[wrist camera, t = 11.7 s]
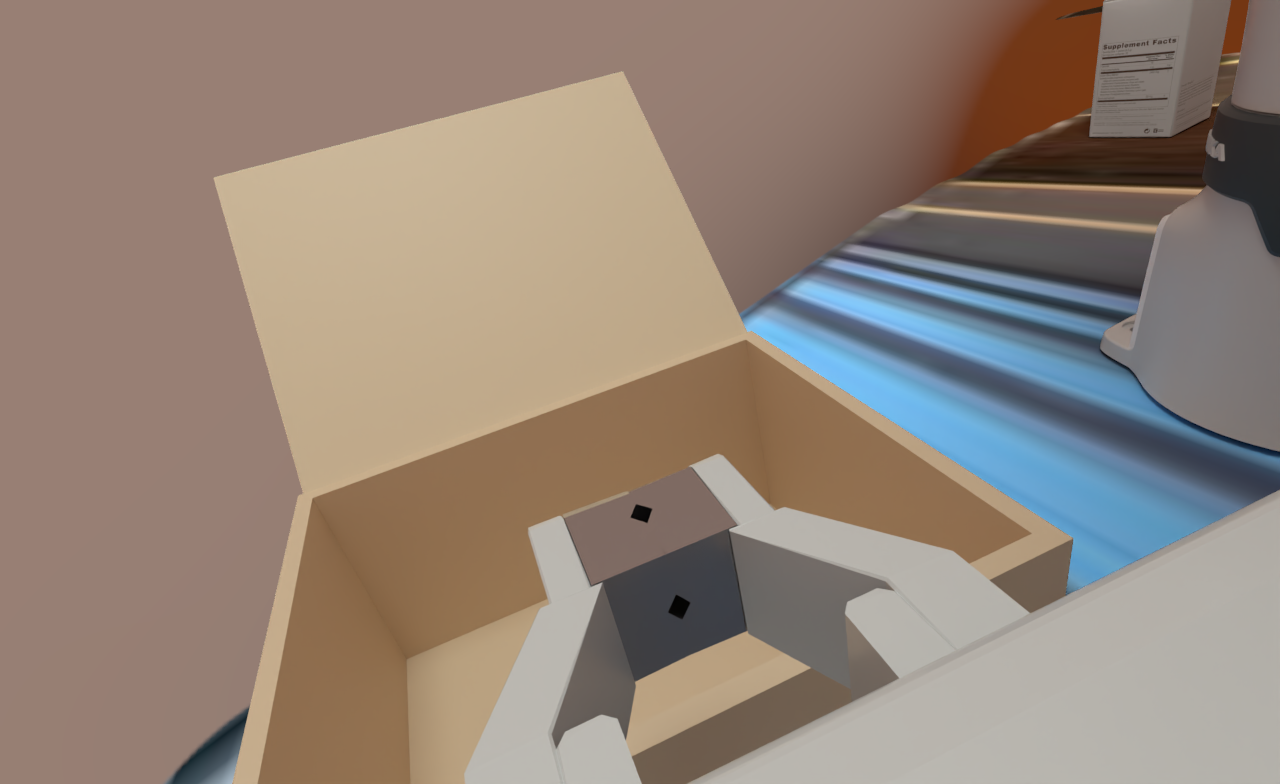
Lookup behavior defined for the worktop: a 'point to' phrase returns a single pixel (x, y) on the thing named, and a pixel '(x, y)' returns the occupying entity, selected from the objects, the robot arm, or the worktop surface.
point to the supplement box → (1156, 66)
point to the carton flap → (467, 273)
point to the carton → (513, 588)
